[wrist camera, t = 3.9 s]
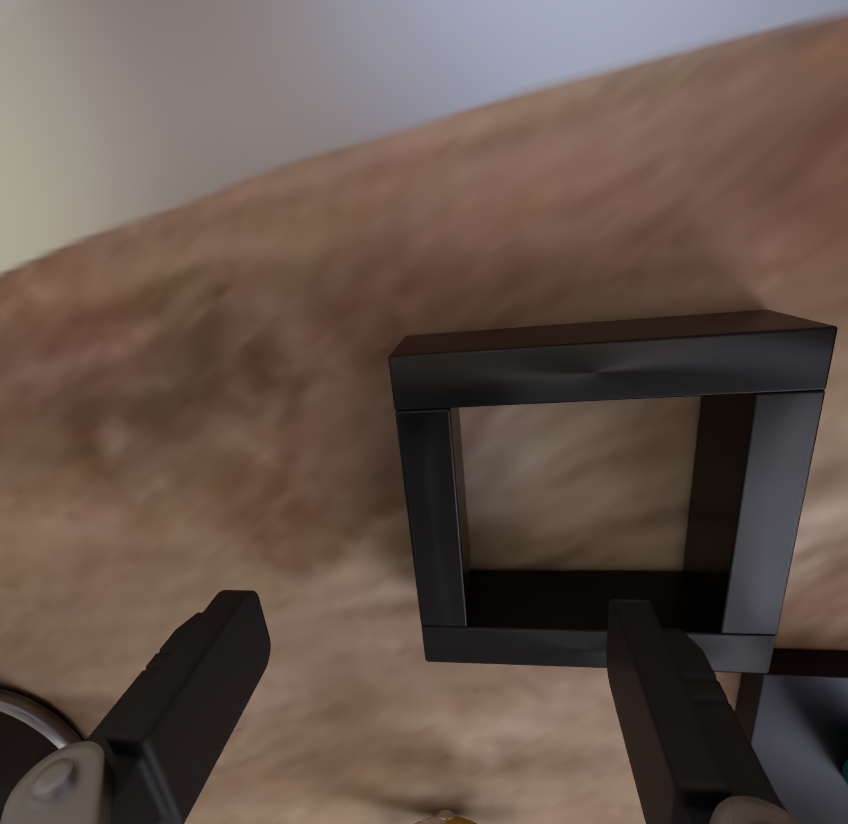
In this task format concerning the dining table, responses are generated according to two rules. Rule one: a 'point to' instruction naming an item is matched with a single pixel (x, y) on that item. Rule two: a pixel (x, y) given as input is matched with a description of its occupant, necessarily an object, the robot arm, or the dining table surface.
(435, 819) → the ring
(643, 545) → the dining table surface
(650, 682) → the robot arm
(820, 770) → the post stand
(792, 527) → the loop
